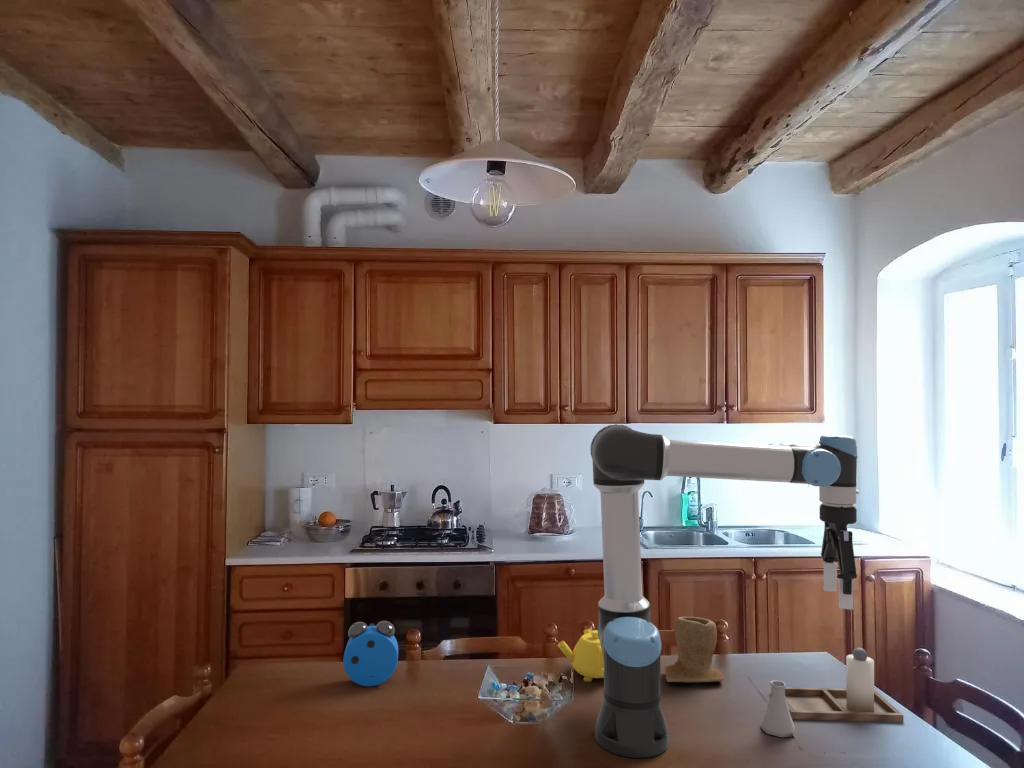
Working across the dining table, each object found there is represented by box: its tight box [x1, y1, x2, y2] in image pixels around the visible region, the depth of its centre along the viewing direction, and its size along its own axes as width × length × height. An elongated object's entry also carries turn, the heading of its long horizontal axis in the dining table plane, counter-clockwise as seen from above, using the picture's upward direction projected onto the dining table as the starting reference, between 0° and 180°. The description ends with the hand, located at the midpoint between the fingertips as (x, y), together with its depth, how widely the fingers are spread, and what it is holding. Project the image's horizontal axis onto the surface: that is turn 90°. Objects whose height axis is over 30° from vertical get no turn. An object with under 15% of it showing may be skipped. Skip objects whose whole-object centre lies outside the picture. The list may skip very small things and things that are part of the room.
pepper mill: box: [845, 647, 875, 712], centre depth 154 cm, size 6×6×14 cm
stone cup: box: [664, 616, 724, 683], centre depth 172 cm, size 15×12×15 cm
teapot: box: [557, 628, 604, 683], centre depth 174 cm, size 14×14×11 cm
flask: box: [760, 680, 796, 738], centre depth 145 cm, size 7×7×10 cm
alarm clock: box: [342, 620, 399, 687], centre depth 168 cm, size 13×6×15 cm, turn 98°
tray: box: [770, 686, 904, 723], centre depth 155 cm, size 24×13×2 cm, turn 87°
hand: (837, 599), depth 152 cm, fingers open, 13 cm apart
